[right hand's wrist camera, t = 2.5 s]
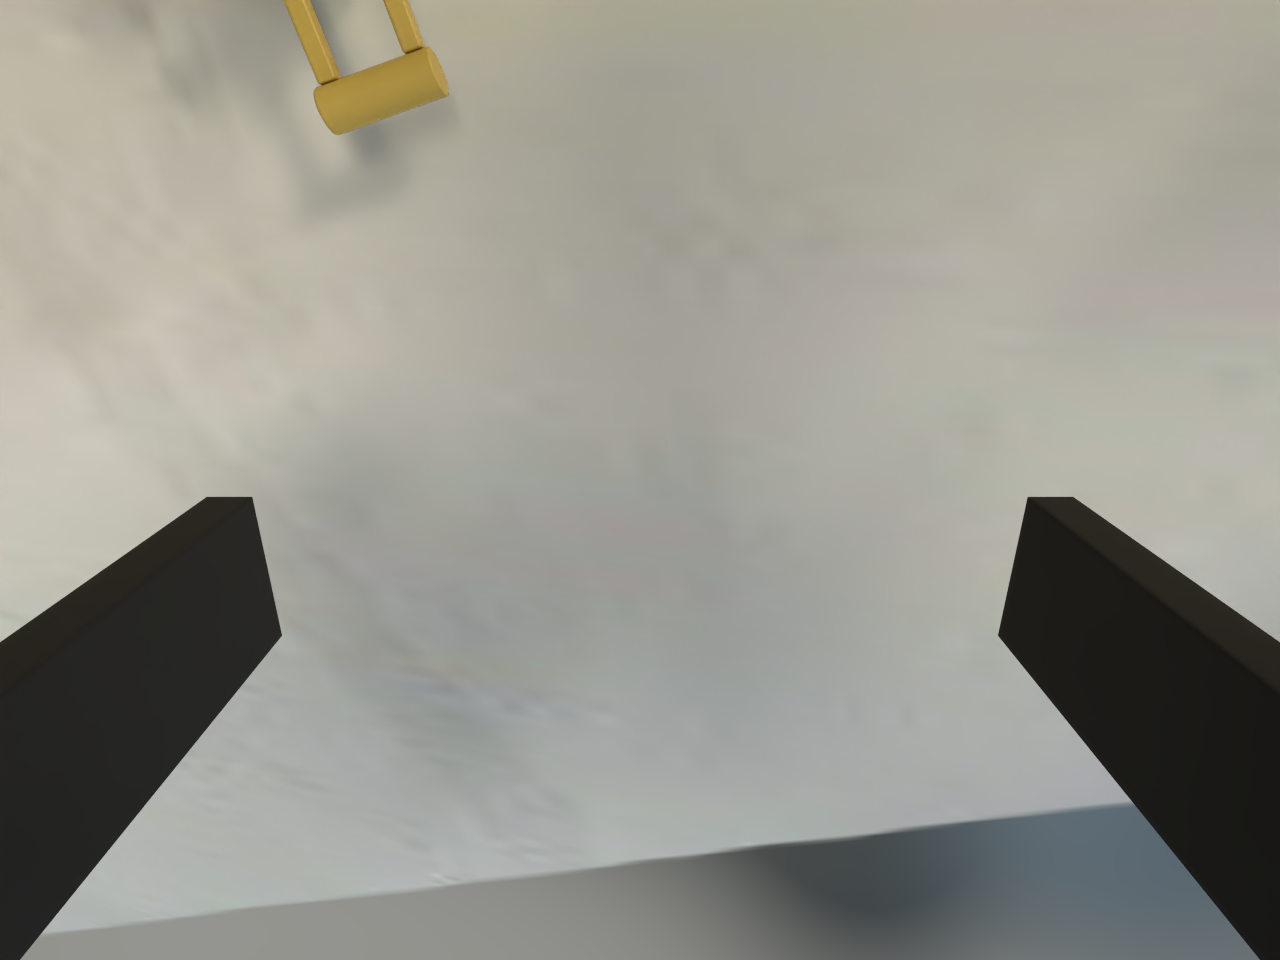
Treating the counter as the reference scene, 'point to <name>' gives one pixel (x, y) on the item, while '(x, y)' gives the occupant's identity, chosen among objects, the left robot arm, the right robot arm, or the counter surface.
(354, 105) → the drawer
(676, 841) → the counter surface
